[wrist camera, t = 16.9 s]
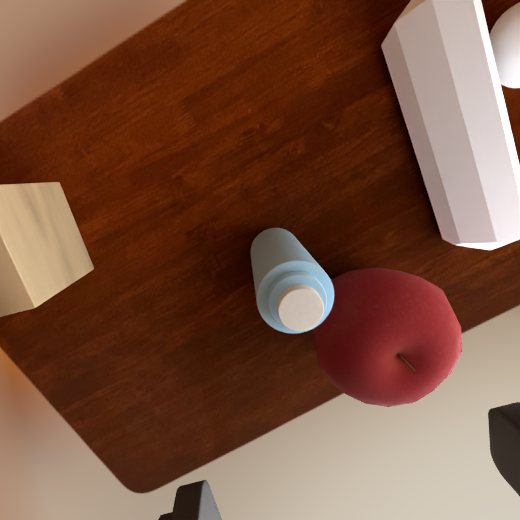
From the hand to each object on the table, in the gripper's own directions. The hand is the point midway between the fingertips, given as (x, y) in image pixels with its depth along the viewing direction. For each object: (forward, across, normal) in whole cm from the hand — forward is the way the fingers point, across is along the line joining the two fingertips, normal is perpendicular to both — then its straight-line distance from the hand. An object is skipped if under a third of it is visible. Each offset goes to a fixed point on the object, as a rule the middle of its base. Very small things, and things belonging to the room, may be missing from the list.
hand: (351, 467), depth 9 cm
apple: (+26, -8, +8) cm, 28 cm away
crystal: (+26, -20, -7) cm, 33 cm away
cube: (+26, +22, -7) cm, 35 cm away
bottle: (+26, -1, 0) cm, 26 cm away
